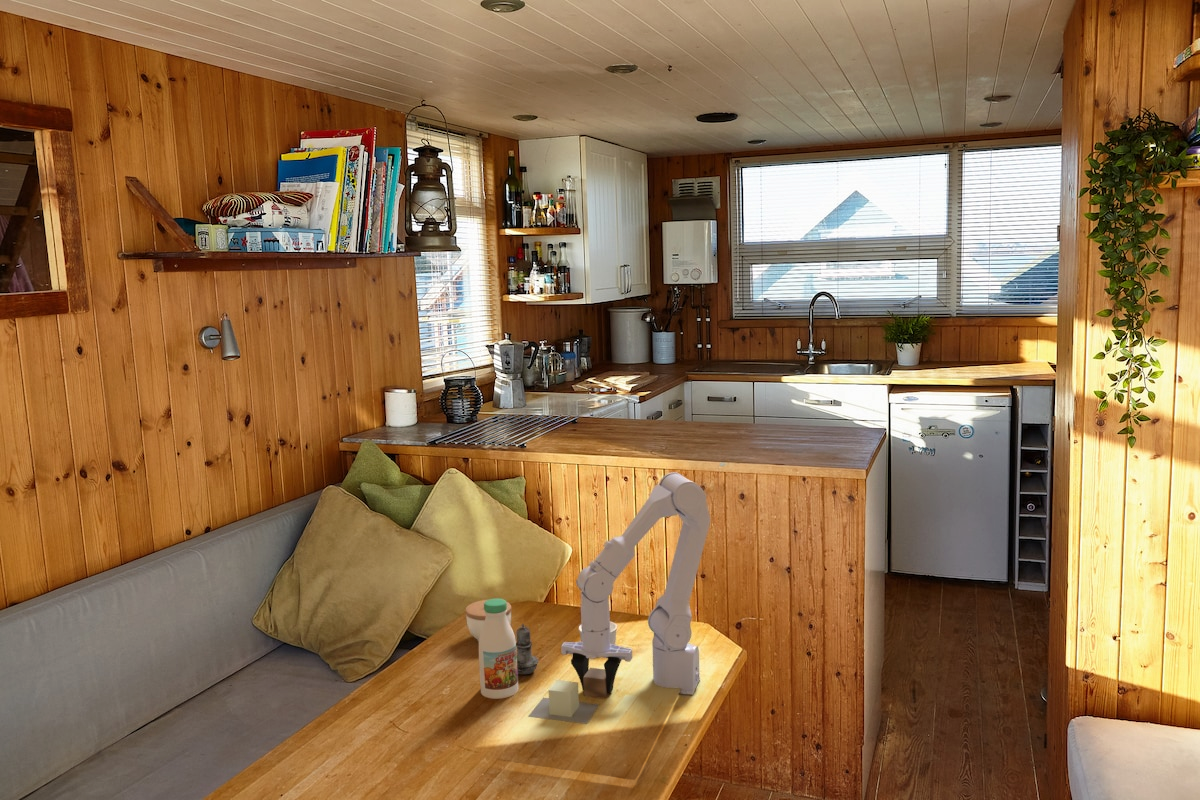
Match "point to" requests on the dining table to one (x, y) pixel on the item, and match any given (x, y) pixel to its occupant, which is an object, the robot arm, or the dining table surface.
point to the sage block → (563, 698)
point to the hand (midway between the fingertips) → (597, 690)
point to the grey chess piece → (525, 652)
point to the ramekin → (612, 632)
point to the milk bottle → (497, 653)
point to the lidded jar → (480, 617)
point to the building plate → (579, 716)
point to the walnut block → (595, 683)
